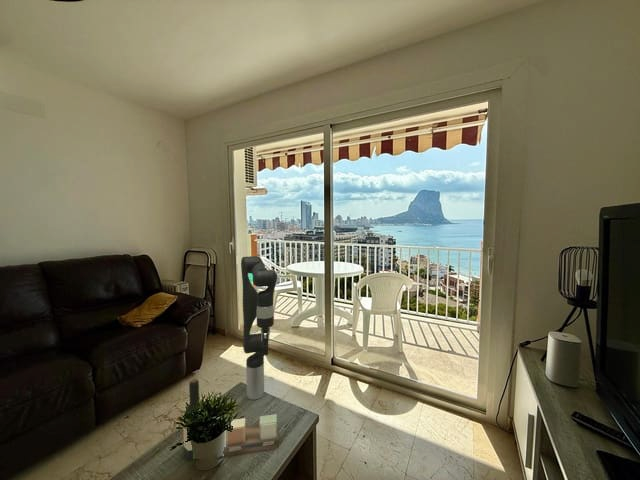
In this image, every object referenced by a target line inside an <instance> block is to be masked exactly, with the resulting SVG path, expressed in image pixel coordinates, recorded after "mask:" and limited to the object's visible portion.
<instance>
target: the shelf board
mask: <svg viewBox="0 0 640 480" xmlns="http://www.w3.org/2000/svg"><path fill="white" fill-rule="evenodd" d="M278 426H279V425H277V438H276V439H270V440H264V441H260V423H256V424H251V425H246V438H245V444H239V445H233V446H227V441H226V447H224V451H223V454H224V457H223V458H227V457H234V456H240V455H241V456H242V455H246V454H250V453H257V452H263V451H267V450H269V451H270V450H276V449H279V431H278Z"/></svg>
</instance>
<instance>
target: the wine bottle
mask: <svg viewBox="0 0 640 480" xmlns="http://www.w3.org/2000/svg"><path fill="white" fill-rule="evenodd" d="M188 387H189V388H188V390H189V404H188V406H187V408H186V409H185V411H184V414H186V413H188V412H191V410H193V409H197V408H198V407H199V406H200V403H197V401H198V400H199V401H200V384H199V379H198V378H192V379H191V380H190V381H189V384H188ZM184 414H183V415H184ZM182 428H183V430H182V431H183V457H184V458H185V459H186V460H187V461H189V462H190V461H194V460H193V451H192V445H191V442H190V441H188V442H185V441H187V429H186V428H184V427H182Z"/></svg>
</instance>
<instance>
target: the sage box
mask: <svg viewBox="0 0 640 480" xmlns="http://www.w3.org/2000/svg"><path fill="white" fill-rule="evenodd" d="M277 419H278V418H277V413H274V414H268V415H261V416H259V424H260V441H264V440H270V439H276V438H277V426H278V421H277Z"/></svg>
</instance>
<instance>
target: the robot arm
mask: <svg viewBox="0 0 640 480" xmlns="http://www.w3.org/2000/svg"><path fill="white" fill-rule="evenodd" d="M240 267H241V271H240V272H241V280H242V315H243V317H242V318H243V319H242V320H243V333H242V334H243V336H242V337H243V338H242V340H243V341H242V347H243V352H244V353H245V354H251V355H249V356H248V357H247V358H246V360H245V362H246V367H245V369H246V373H245V374H246V398H247V399H249V400H258V399H260V398H262V397H264V395H265V361H264V360H265V357H266V356H268V355H269V346H270V345H269V342H270V334H271V328H272V327H273V326H274V325H275V307H274V292H275V290H276V289H275V288H276V285H277V282H278V274H277V272H276V271H275V270H274V269H268V268H267V267H265V265H264V262H263V260H262V258H261V257H260V256H243V257H242V258H241V262H240ZM249 274H251V275H252V282H253V283H252V282H251V280H250V277H249ZM255 287H257V288H259V287H260V288H261V287H263V288H264V287H266V289H264V290H261V291H259V292H258V291H257V288H255ZM255 320H256V326H257V327H258V328H259V329H260V332H259V333H258V332H257V333H253V334H250V333H251V329H252V326H253V324H254V322H255Z"/></svg>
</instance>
